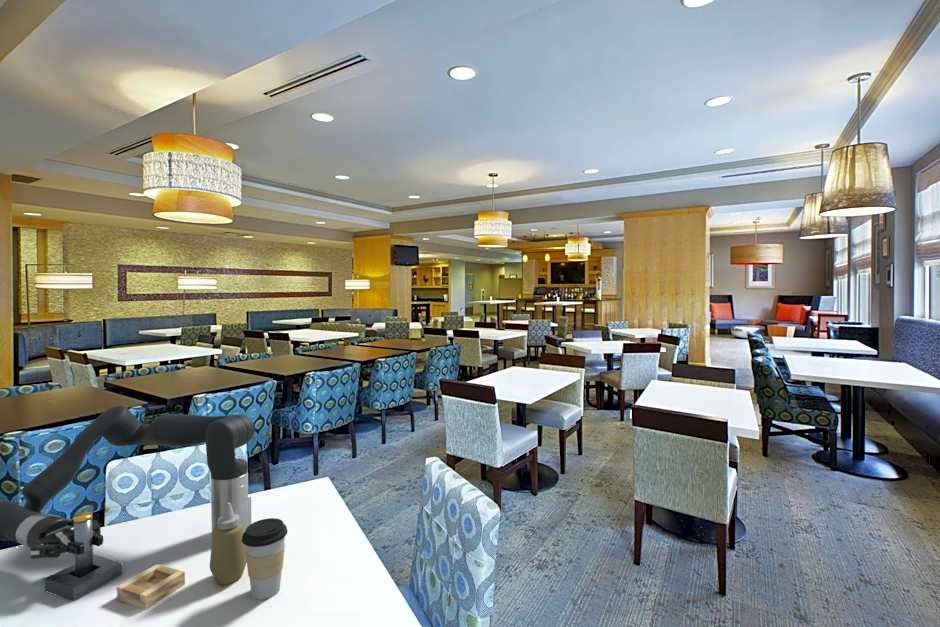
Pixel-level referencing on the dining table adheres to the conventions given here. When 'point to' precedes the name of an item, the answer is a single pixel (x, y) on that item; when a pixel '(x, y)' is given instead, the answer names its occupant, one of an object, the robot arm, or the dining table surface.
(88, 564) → the steel rod
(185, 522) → the dining table surface
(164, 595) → the oak tray
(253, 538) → the coffee cup
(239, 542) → the squeeze bottle
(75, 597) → the socket block
